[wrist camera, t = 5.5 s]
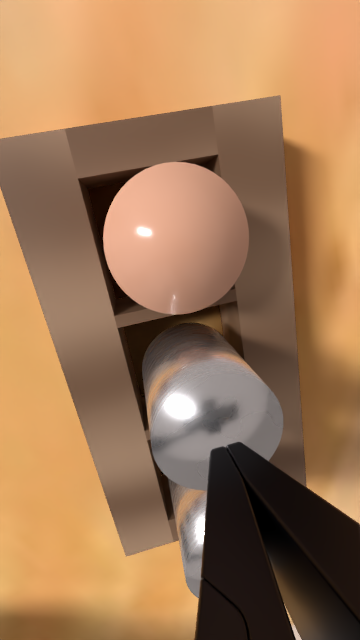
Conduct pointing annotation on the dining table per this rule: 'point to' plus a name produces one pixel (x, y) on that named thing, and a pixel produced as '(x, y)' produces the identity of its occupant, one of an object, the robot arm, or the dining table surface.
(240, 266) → the peach egg-shaped piece
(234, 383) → the plug metal mid
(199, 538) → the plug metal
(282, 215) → the brown wooden tray
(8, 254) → the dining table surface
